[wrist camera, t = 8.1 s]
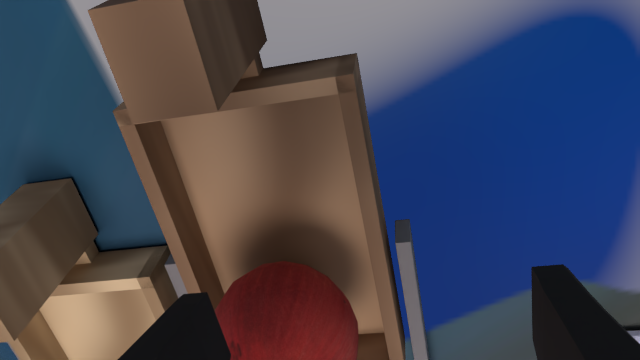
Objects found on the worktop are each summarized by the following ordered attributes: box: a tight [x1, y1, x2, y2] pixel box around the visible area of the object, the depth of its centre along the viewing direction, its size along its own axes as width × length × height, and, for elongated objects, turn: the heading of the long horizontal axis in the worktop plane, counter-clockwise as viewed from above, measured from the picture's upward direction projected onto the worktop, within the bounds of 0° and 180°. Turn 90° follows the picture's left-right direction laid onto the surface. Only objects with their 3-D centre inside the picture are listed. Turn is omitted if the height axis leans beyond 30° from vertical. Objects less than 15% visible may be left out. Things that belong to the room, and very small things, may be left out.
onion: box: [215, 261, 359, 360], centre depth 21 cm, size 6×6×8 cm
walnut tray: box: [88, 0, 405, 360], centre depth 20 cm, size 9×18×6 cm, turn 11°
